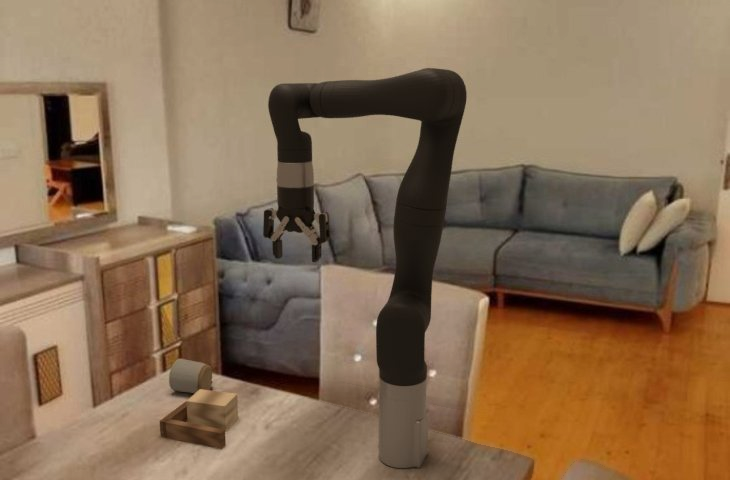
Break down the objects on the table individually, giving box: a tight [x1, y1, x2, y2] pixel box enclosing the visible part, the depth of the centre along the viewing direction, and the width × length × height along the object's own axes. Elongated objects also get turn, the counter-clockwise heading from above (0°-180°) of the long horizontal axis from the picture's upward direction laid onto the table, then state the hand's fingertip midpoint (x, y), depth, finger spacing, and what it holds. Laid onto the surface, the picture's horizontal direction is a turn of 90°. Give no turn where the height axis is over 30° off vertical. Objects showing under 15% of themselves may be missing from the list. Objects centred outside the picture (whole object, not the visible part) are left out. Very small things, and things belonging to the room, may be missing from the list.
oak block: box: [185, 389, 239, 432], centre depth 151 cm, size 9×6×6 cm, turn 75°
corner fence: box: [159, 385, 227, 450], centre depth 151 cm, size 15×18×4 cm
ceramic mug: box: [168, 358, 213, 394], centre depth 167 cm, size 11×8×8 cm
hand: (296, 259), depth 146 cm, fingers open, 8 cm apart
